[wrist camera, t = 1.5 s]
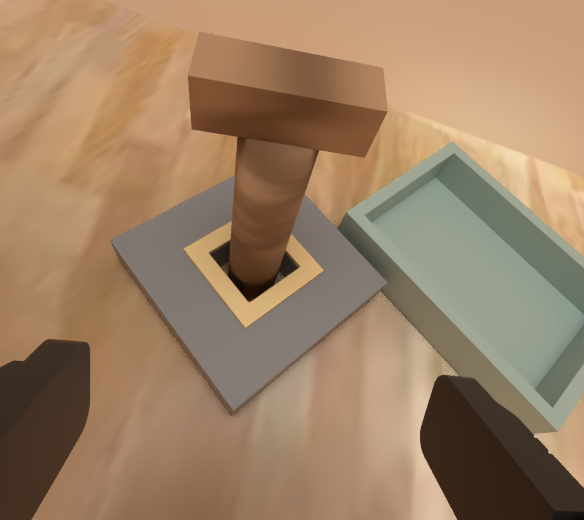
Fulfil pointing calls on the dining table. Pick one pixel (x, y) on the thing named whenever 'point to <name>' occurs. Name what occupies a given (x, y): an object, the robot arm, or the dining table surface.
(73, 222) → the dining table surface
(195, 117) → the t key
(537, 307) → the tray
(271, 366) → the plate
